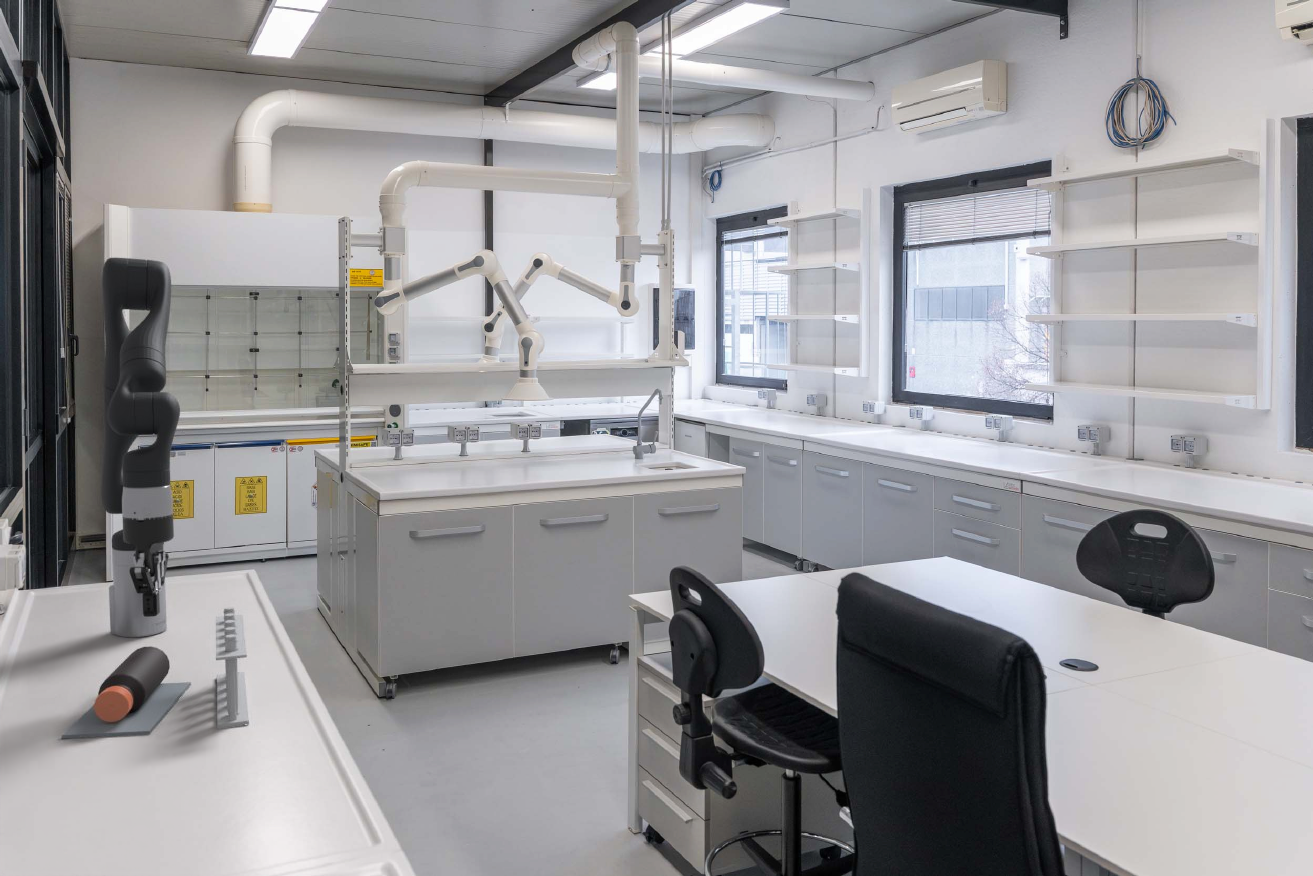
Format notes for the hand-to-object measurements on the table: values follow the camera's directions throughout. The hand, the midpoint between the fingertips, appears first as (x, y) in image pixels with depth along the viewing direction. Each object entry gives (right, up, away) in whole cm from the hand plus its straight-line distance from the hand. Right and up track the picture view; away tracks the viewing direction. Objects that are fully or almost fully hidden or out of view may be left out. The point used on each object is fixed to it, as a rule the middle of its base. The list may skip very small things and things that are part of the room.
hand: (151, 615), depth 169 cm
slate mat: (+2, -13, -10) cm, 16 cm away
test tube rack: (+15, -13, -5) cm, 21 cm away
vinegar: (-1, -9, +2) cm, 9 cm away
